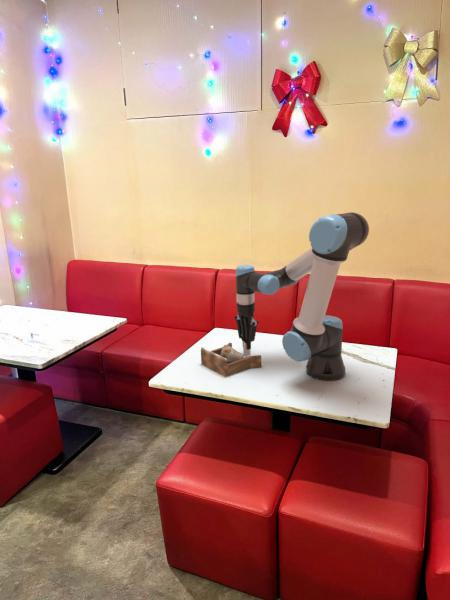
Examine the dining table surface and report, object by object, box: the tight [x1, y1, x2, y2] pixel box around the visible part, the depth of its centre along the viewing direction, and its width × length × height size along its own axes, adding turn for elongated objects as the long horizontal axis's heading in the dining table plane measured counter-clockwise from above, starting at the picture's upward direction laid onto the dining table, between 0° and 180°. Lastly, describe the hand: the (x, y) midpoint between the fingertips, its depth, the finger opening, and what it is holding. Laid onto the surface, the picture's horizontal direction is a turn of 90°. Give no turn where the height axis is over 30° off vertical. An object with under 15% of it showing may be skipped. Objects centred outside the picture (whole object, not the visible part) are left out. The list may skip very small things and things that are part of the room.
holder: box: [200, 342, 262, 378], centre depth 177 cm, size 21×18×8 cm
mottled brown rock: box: [220, 344, 245, 363], centre depth 180 cm, size 8×10×10 cm
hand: (247, 355), depth 183 cm, fingers closed
